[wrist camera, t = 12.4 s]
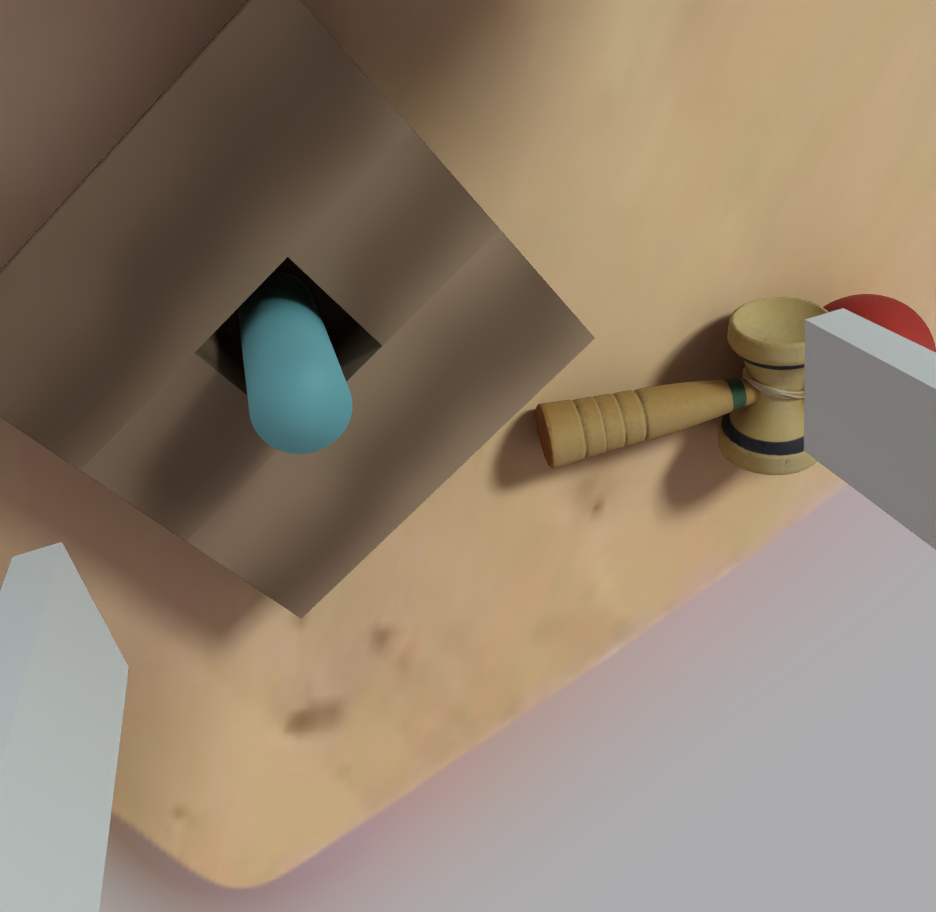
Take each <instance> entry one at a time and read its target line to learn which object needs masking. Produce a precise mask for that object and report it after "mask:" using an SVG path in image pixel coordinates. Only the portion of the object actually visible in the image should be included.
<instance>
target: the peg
mask: <svg viewBox="0 0 936 912" xmlns="http://www.w3.org/2000/svg"><path fill="white" fill-rule="evenodd" d="M238 317H239V326H240V335H241V344H242V353H243V361H244V370H245V379H246V388H247V397H248V406H249V414H250V419H251V422H252V425H253V427H254V429H255V431H256V432H257V434H258V435H259V436H260V437H261V438H262V439H263V440H264V441H265V442H266V443H267V444H269V445H270V446H272V447H274V448H276V449H278V450H280V451H283V452H287V453H293V454H305V453H312V452H316V451H318V450H321V449H323V448H325V447H327V446H329V445H330V444H332V443H333V442H335V441H336V440H337V439H338V438H339V437H340V436H341V435H342V434H343V432H344V431H345V429H346V427H347V426H348V424H349V421H350V418H351V414H352V397H351V393H350V390H349V388H348V385H347V382H346V380H345V377H344V375H343V372H342V370H341V367H340V364H339V362H338V359H337V357H336V354H335V352H334V349H333V347H332V344H331V341H330V339H329V336H328V334H327V331H326V329H325V326H324V324H323V321H322V318H321V316H320V313H319V311H318V308H317V306H316V303H315V300H314V298H313V295H312V293H311V291H310V290H309V288H308V287H307V286H306V285H305V284H304V283H303V282H302V281H301V280H300V279H298V278H296V277H295V276H293V275H290V274H287V273H282V272H272V273H271V274H270V276H269V277H268V278H267V279H266V280H265V281H264V282H263V283H262V284H261V285H260V286H259V287H258V288H257V289H256V290H255V291H254V292H253V293H252V294H251V295H250V296H249V297H248V298H247V299H246V300H245V301H244V302H243V303H242V304H241V305H240V306H239V307H238Z"/></svg>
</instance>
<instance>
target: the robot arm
mask: <svg viewBox="0 0 936 912" xmlns="http://www.w3.org/2000/svg"><path fill="white" fill-rule="evenodd" d="M804 451H805V452H806V453H808V454H809V455H810V456H812V457H813V458H814V459H816V460H817V461H818V462H820V463H821V464H822V465H824V466H825V467H826V468H828V469H829V470H830V471H832V472H833V473H834V474H836V475H837V476H838V477H840V478H841V479H842V480H844V481H845V482H846V483H848V484H849V485H850V486H852V487H853V488H854V489H856V490H857V491H858V492H860V493H861V494H862V495H864V496H865V497H866V498H868V499H869V500H870V501H871V502H873V503H874V504H876V505H877V506H878V507H879V508H881V509H882V510H883V511H885V512H886V513H887V514H889V515H890V516H892V517H893V518H894V519H895V520H897V521H898V522H899V523H901V524H902V525H903V526H905V527H906V528H907V529H909V530H910V531H911V532H913V533H914V534H915V535H917V536H918V537H919V538H921V539H922V540H923V541H925V542H926V543H928V544H929V545H930V546H931V547H933V548H934V549H935V550H936V352H933V351H931V350H929V349H927V348H925V347H923V346H921V345H919V344H917V343H915V342H913V341H911V340H908V339H906V338H904V337H902V336H900V335H898V334H896V333H894V332H892V331H890V330H888V329H886V328H884V327H881V326H879V325H877V324H875V323H873V322H871V321H869V320H867V319H865V318H863V317H861V316H859V315H856V314H854V313H852V312H850V311H848V310H846V309H844V308H842V309H839V310H835V311H832V312H829V313H825V314H822V315H819V316H815V317H812V318H809V319H805V376H804ZM128 670H129V667H128V665H127V663H126V661H125V660H124V658H123V656H122V654H121V652H120V650H119V648H118V646H117V645H116V643H115V641H114V639H113V637H112V635H111V633H110V631H109V630H108V628H107V626H106V624H105V622H104V620H103V618H102V616H101V615H100V613H99V611H98V609H97V607H96V605H95V603H94V601H93V600H92V598H91V596H90V594H89V592H88V590H87V588H86V586H85V585H84V583H83V581H82V579H81V577H80V575H79V573H78V571H77V570H76V568H75V566H74V564H73V562H72V560H71V558H70V556H69V554H68V553H67V551H66V549H65V547H64V545H63V543H62V542H60V543H56V544H53V545H50V546H46V547H43V548H40V549H36V550H33V551H30V552H26V553H23V554H20V555H16V556H13V557H12V559H11V562H10V565H9V568H8V571H7V574H6V576H5V579H4V582H3V585H2V588H1V590H0V912H99V908H100V900H101V892H102V883H103V875H104V866H105V859H106V851H107V843H108V834H109V826H110V818H111V810H112V802H113V794H114V785H115V777H116V769H117V761H118V753H119V744H120V736H121V728H122V720H123V712H124V703H125V695H126V687H127V679H128Z"/></svg>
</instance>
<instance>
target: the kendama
mask: <svg viewBox="0 0 936 912" xmlns="http://www.w3.org/2000/svg"><path fill="white" fill-rule="evenodd" d="M842 308H844V309H846V310H848V311H850V312H852V313H854V314H856V315H859V316H861V317H863V318H865V319H867V320H869V321H871V322H873V323H875V324H877V325H879V326H881V327H884V328H886V329H888V330H890V331H892V332H894V333H896V334H898V335H900V336H902V337H904V338H906V339H908V340H911V341H913V342H915V343H917V344H919V345H921V346H923V347H925V348H927V349H929V350H931V351H933V352H936V348H935V343H934V340H933V337H932V335H931V332H930V330H929V328H928V327H927V325H926V324H925V322H924V321H923V320H922V318H921V317H920V316H919V315H918V314H917V313H916V312H915V311H914V310H913V309H911V308H910V307H909V306H907V305H905V304H904V303H902V302H900V301H897V300H895V299H893V298H889V297H885V296H881V295H873V294H860V295H853V296H848V297H844V298H841V299H838V300H836V301H833V302H831V303H829V304H828V305H826V306H824V307H821V306H819V305H817V304H814V303H811V302H809V301H805V300H801V299H796V298H785V297H776V298H765V299H760V300H755V301H752V302H749V303H747V304H745V305H742V306H741V307H739V308H738V309H736V310H735V311H734V312H733V313H732V314H731V315H730V318H729V326H728V333H727V341H728V343H729V345H730V347H731V348H732V349H733V351H734V352H736V353H737V354H738V355H739V356H740V357H741V358H742V360H743V361H744V363H745V366H746V367H745V368H744V369H743V376H742V377H740V378H733V379H732V378H730V379H717V380H705V381H693V382H683V383H674V384H667V385H659V386H653V387H647V388H641V389H637V390H634V391H632V390H630V391H623V392H618V393H614V394H613V395H612V394H605V395H599V396H594V397H586V398H580V399H575V400H573V401H571V400H566V401H558V402H551V403H543V404H538V405H537V408H536V421H537V428H538V434H539V438H540V442H541V446H542V449H543V452H544V456H545V458H546V461H547V463H548V465H549V466H550V467H551V468H552V469H554V468H558V467H561V466H564V465H567V464H570V463H573V462H576V461H579V460H582V459H584V457H592V456H596V455H599V454H602V453H604V452H608V451H612V450H616V449H619V448H622V447H623V446H629V445H633V444H636V443H640V442H642V441H644V440H651V439H654V438H658V437H661V436H664V435H668V434H671V433H674V432H677V431H680V430H684V429H687V428H690V427H692V426H695V425H698V424H701V423H703V422H706V421H709V420H711V419H714V418H717V417H720V416H721V417H720V420H719V423H718V443H719V448H720V450H721V452H722V454H723V456H724V457H725V458H726V459H727V460H729V461H730V462H732V463H733V464H735V465H736V466H738V467H740V468H742V469H745V470H747V471H751V472H755V473H759V474H766V475H785V474H793V473H797V472H800V471H802V470H805V469H807V468H809V467H810V466H812V465H813V464H815V463H816V462H817V460H816V459H814V458H813V457H812V456H810V455H809V454H808V453H806V452H805V451H804V376H805V319H809V318H812V317H815V316H819V315H822V314H825V313H829V312H832V311H835V310H839V309H842Z"/></svg>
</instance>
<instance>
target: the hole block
mask: <svg viewBox="0 0 936 912" xmlns="http://www.w3.org/2000/svg"><path fill="white" fill-rule="evenodd" d="M287 257H288V258H290V259H291V260H292V261H293V262H294V263H295V264H296V265H297V266H298V267H299V268H300V269H301V270H302V271H303V272H304V273H306V274H307V275H308V276H309V277H310V278H311V279H312V280H313V281H314V282H315V283H316V284H317V285H318V286H319V287H320V288H321V289H323V290H324V291H325V292H326V293H327V294H328V295H329V296H330V297H331V298H332V299H333V300H334V301H335V302H336V303H337V304H339V305H340V306H341V307H342V308H343V309H344V310H345V311H346V312H347V313H348V314H349V315H350V317H349V318H348V319H347V320H346V321H345V322H344V323H343V324H342V325H341V326H340V327H339V328H338V329H337V330H336V331H335V332H334V333H333V334H332V335H331V336H330V337H329V339H330V341H331V344H332V347H333V349H334V352H335V354H336V357H337V359H338V362H339V364H340V367H341V370H342V372H343V375H344V377H345V380H346V382H347V385H348V388H349V390H350V393H351V397H352V414H351V418H350V421H349V424H348V426H347V427H346V429H345V431H344V432H343V434H342V435H341V436H340V437H339V438H338V439H337V440H336V441H335V442H333V443H332V444H330V445H329V446H327V447H325V448H323V449H321V450H318V451H316V452H312V453H305V454H293V453H287V452H283V451H280V450H278V449H276V448H274V447H272V446H270V445H269V444H267V443H266V442H265V441H264V440H263V439H262V438H261V437H260V436H259V435H258V434H257V432H256V431H255V429H254V427H253V425H252V422H251V419H250V414H249V406H248V397H247V388H246V379H245V370H244V361H243V353H242V349H241V348H240V347H238V346H237V345H236V344H235V343H234V342H232V341H231V340H230V339H229V338H228V337H226V336H225V335H224V334H223V333H222V332H220V331H219V330H218V328H219V327H220V326H221V325H222V324H223V323H224V322H225V321H226V320H227V319H228V318H229V317H230V316H231V315H232V314H233V313H234V312H235V311H236V309H237V308H238V307H239V306H240V305H241V304H242V303H243V302H244V301H245V300H246V299H247V298H248V297H249V296H250V295H251V294H252V293H253V292H254V291H255V290H256V289H257V288H258V287H259V286H260V285H261V284H262V283H263V282H264V281H265V280H266V279H267V278H268V277H269V276H270V274H271V273H272V272H273V271H274V270H275V269H276V268H277V267H278V266H279V265H280V264H281V263H282V262H283V261H284V260H285V259H286V258H287ZM593 339H594V337H593V335H592V334H591V333H590V332H589V331H588V330H587V329H586V327H585V326H584V325H583V324H582V323H581V322H580V321H579V319H578V318H577V317H576V316H575V315H574V314H573V313H572V311H571V310H570V309H569V308H568V307H567V306H566V305H565V303H564V302H563V301H562V300H561V299H560V298H559V296H558V295H557V294H556V293H555V292H554V291H553V290H552V288H551V287H550V286H549V285H548V284H547V283H546V282H545V280H544V279H543V278H542V277H541V276H540V275H539V274H538V272H537V271H536V270H535V269H534V268H533V267H532V266H531V264H530V263H529V262H528V261H527V260H526V259H525V257H524V256H523V255H522V254H521V253H520V252H519V251H518V249H517V248H516V247H515V246H514V245H513V244H512V243H511V241H510V240H509V239H508V238H507V237H506V236H505V235H504V233H503V232H502V231H501V230H500V229H499V228H498V227H497V225H496V224H495V223H494V222H493V221H492V220H491V218H490V217H489V216H488V215H487V214H486V213H485V212H484V210H483V209H482V208H481V207H480V206H479V205H478V204H477V202H476V201H475V200H474V199H473V198H472V197H471V196H470V194H469V193H468V192H467V191H466V190H465V189H464V187H463V186H462V185H461V184H460V183H459V182H458V181H457V179H456V178H455V177H454V176H453V175H452V174H451V173H450V171H449V170H448V169H447V168H446V167H445V166H444V165H443V163H442V162H441V161H440V160H439V159H438V158H437V157H436V155H435V154H434V153H433V152H432V151H431V150H430V148H429V147H428V146H427V145H426V144H425V143H424V142H423V140H422V139H421V138H420V137H419V136H418V135H417V134H416V132H415V131H414V130H413V129H412V128H411V127H410V126H409V124H408V123H407V122H406V121H405V120H404V119H403V118H402V116H401V115H400V114H399V113H398V112H397V111H396V109H395V108H394V107H393V106H392V105H391V104H390V103H389V101H388V100H387V99H386V98H385V97H384V96H383V95H382V93H381V92H380V91H379V90H378V89H377V88H376V87H375V85H374V84H373V83H372V82H371V81H370V80H369V79H368V77H367V76H366V75H365V74H364V73H363V72H362V70H361V69H360V68H359V67H358V66H357V65H356V64H355V62H354V61H353V60H352V59H351V58H350V57H349V56H348V54H347V53H346V52H345V51H344V50H343V49H342V48H341V46H340V45H339V44H338V43H337V42H336V41H335V40H334V38H333V37H332V36H331V35H330V34H329V33H328V31H327V30H326V29H325V28H324V27H323V26H322V25H321V23H320V22H319V21H318V20H317V19H316V18H315V17H314V15H313V14H312V13H311V12H310V11H309V10H308V9H307V7H306V6H305V5H304V4H303V3H302V2H301V1H300V0H248V2H247V3H246V4H245V5H244V6H243V7H242V8H241V9H240V10H239V11H238V12H237V14H236V15H235V16H234V17H233V18H232V19H231V20H230V21H229V22H228V23H227V24H226V26H225V27H224V28H223V29H222V30H221V31H220V32H219V33H218V34H217V35H216V36H215V38H214V39H213V40H212V41H211V42H210V43H209V44H208V45H207V46H206V47H205V48H204V50H203V51H202V52H201V53H200V54H199V55H198V56H197V57H196V58H195V59H194V60H193V61H192V63H191V64H190V65H189V66H188V67H187V68H186V69H185V70H184V71H183V72H182V73H181V75H180V76H179V77H178V78H177V79H176V80H175V81H174V82H173V83H172V84H171V85H170V87H169V88H168V89H167V90H166V91H165V92H164V93H163V94H162V95H161V96H160V97H159V99H158V100H157V101H156V102H155V103H154V104H153V105H152V106H151V107H150V108H149V109H148V111H147V112H146V113H145V114H144V115H143V116H142V117H141V118H140V119H139V120H138V121H137V123H136V124H135V125H134V126H133V127H132V128H131V129H130V130H129V131H128V132H127V133H126V135H125V136H124V137H123V138H122V139H121V140H120V141H119V142H118V143H117V144H116V145H115V147H114V148H113V149H112V150H111V151H110V152H109V153H108V154H107V155H106V156H105V157H104V158H103V160H102V161H101V162H100V163H99V164H98V165H97V166H96V167H95V168H94V169H93V170H92V172H91V173H90V174H89V175H88V176H87V177H86V178H85V179H84V180H83V181H82V182H81V184H80V185H79V186H78V187H77V188H76V189H75V190H74V191H73V192H72V193H71V194H70V196H69V197H68V198H67V199H66V200H65V201H64V202H63V203H62V204H61V205H60V206H59V208H58V209H57V210H56V211H55V212H54V213H53V214H52V215H51V216H50V217H49V218H48V220H47V221H46V222H45V223H44V224H43V225H42V226H41V227H40V228H39V229H38V230H37V232H36V233H35V234H34V235H33V236H32V237H31V238H30V239H29V240H28V241H27V242H26V243H25V245H24V246H23V247H22V248H21V249H20V250H19V251H18V252H17V253H16V254H15V255H14V257H13V258H12V259H11V260H10V261H9V262H8V263H7V264H6V265H5V266H4V267H3V269H2V270H1V271H0V417H1V418H3V419H4V420H6V421H7V422H9V423H10V424H12V425H13V426H15V427H16V428H18V429H19V430H21V431H22V432H24V433H25V434H27V435H28V436H30V437H31V438H33V439H34V440H36V441H37V442H38V443H40V444H41V445H43V446H44V447H46V448H47V449H49V450H50V451H52V452H53V453H55V454H56V455H58V456H59V457H61V458H62V459H64V460H65V461H67V462H68V463H70V464H71V465H73V466H74V467H76V468H77V469H79V470H80V471H82V472H83V473H85V474H86V475H88V476H89V477H91V478H92V479H94V480H95V481H97V482H98V483H100V484H101V485H103V486H104V487H106V488H107V489H109V490H110V491H112V492H113V493H115V494H116V495H118V496H119V497H121V498H122V499H124V500H125V501H127V502H128V503H130V504H131V505H133V506H134V507H136V508H137V509H139V510H140V511H141V512H143V513H144V514H146V515H147V516H149V517H150V518H152V519H153V520H155V521H156V522H158V523H159V524H161V525H162V526H164V527H165V528H167V529H168V530H170V531H171V532H173V533H174V534H176V535H177V536H179V537H180V538H182V539H183V540H185V541H186V542H188V543H189V544H191V545H192V546H194V547H195V548H197V549H198V550H200V551H201V552H203V553H204V554H206V555H207V556H209V557H210V558H212V559H213V560H215V561H216V562H218V563H219V564H221V565H222V566H224V567H225V568H227V569H228V570H230V571H231V572H233V573H234V574H236V575H237V576H239V577H240V578H242V579H243V580H244V581H246V582H247V583H249V584H250V585H252V586H253V587H255V588H256V589H258V590H259V591H261V592H262V593H264V594H265V595H267V596H268V597H270V598H271V599H273V600H274V601H276V602H277V603H279V604H280V605H282V606H283V607H285V608H286V609H288V610H289V611H291V612H292V613H294V614H295V615H297V616H298V617H300V618H302V617H303V616H304V615H306V614H307V613H308V612H309V611H310V610H311V609H312V608H313V607H314V606H315V605H316V604H317V603H318V602H319V601H320V600H321V599H322V598H323V597H324V596H325V595H326V594H328V593H329V592H330V591H331V590H332V589H333V588H334V587H335V586H336V585H337V584H338V583H339V582H340V581H341V580H342V579H343V578H344V577H345V576H346V575H347V574H348V573H350V572H351V571H352V570H353V569H354V568H355V567H356V566H357V565H358V564H359V563H360V562H361V561H362V560H363V559H364V558H365V557H366V556H367V555H368V554H369V553H370V552H371V551H373V550H374V549H375V548H376V547H377V546H378V545H379V544H380V543H381V542H382V541H383V540H384V539H385V538H386V537H387V536H388V535H389V534H390V533H391V532H392V531H393V530H395V529H396V528H397V527H398V526H399V525H400V524H401V523H402V522H403V521H404V520H405V519H406V518H407V517H408V516H409V515H410V514H411V513H412V512H413V511H414V510H415V509H417V508H418V507H419V506H420V505H421V504H422V503H423V502H424V501H425V500H426V499H427V498H428V497H429V496H430V495H431V494H432V493H433V492H434V491H435V490H436V489H437V488H438V487H440V486H441V485H442V484H443V483H444V482H445V481H446V480H447V479H448V478H449V477H450V476H451V475H452V474H453V473H454V472H455V471H456V470H457V469H458V468H459V467H460V466H462V465H463V464H464V463H465V462H466V461H467V460H468V459H469V458H470V457H471V456H472V455H473V454H474V453H475V452H476V451H477V450H478V449H479V448H480V447H481V446H482V445H484V444H485V443H486V442H487V441H488V440H489V439H490V438H491V437H492V436H493V435H494V434H495V433H496V432H497V431H498V430H499V429H500V428H501V427H502V426H503V425H504V424H505V423H507V422H508V421H509V420H510V419H511V418H512V417H513V416H514V415H515V414H516V413H517V412H518V411H519V410H520V409H521V408H522V407H523V406H524V405H525V404H526V403H527V402H529V401H530V400H531V399H532V398H533V397H534V396H535V395H536V394H537V393H538V392H539V391H540V390H541V389H542V388H543V387H544V386H545V385H546V384H547V383H548V382H549V381H551V380H552V379H553V378H554V377H555V376H556V375H557V374H558V373H559V372H560V371H561V370H562V369H563V368H564V367H565V366H566V365H567V364H568V363H569V362H570V361H571V360H573V359H574V358H575V357H576V356H577V355H578V354H579V353H580V352H581V351H582V350H583V349H584V348H585V347H586V346H587V345H588V344H589V343H590V342H591V341H592V340H593Z"/></svg>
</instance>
